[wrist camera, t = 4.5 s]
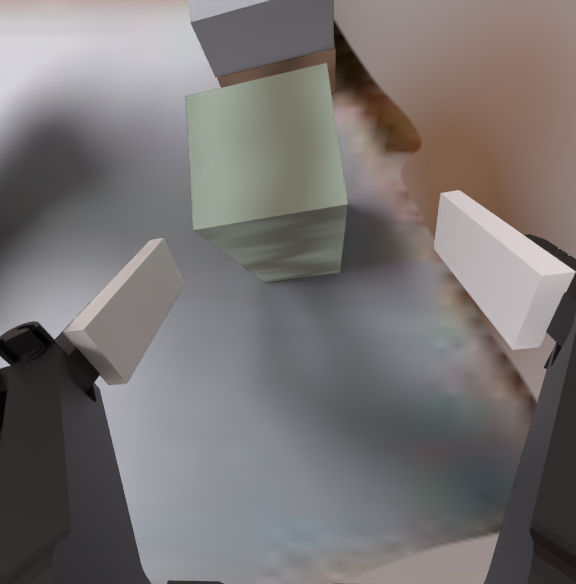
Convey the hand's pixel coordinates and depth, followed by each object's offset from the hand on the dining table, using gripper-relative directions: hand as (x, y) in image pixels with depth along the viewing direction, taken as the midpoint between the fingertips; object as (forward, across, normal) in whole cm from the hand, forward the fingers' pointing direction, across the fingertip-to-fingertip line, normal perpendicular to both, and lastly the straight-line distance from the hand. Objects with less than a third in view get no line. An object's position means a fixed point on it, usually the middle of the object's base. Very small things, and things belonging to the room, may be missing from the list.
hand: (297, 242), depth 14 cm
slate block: (+18, -1, +11) cm, 21 cm away
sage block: (+8, -1, -4) cm, 9 cm away
